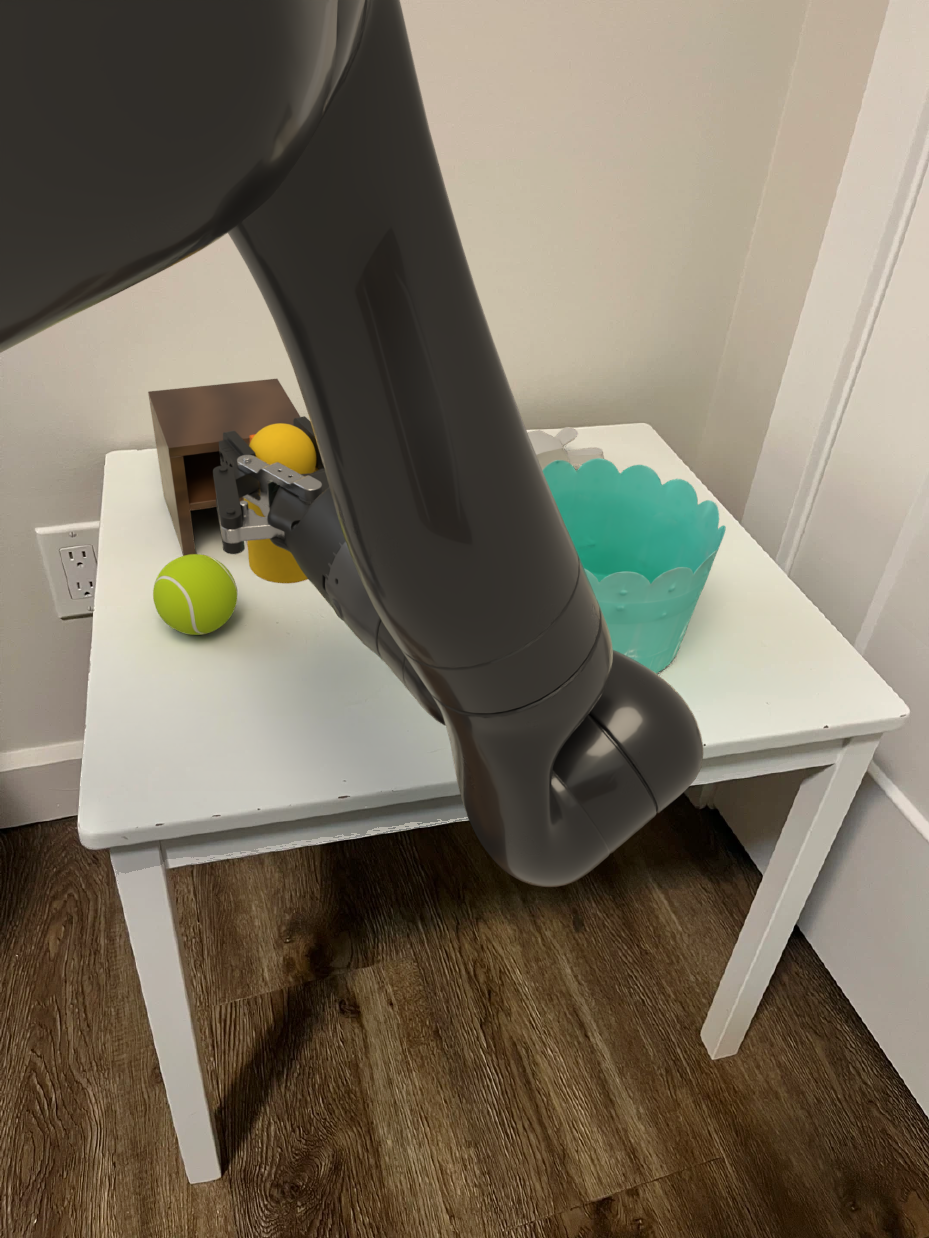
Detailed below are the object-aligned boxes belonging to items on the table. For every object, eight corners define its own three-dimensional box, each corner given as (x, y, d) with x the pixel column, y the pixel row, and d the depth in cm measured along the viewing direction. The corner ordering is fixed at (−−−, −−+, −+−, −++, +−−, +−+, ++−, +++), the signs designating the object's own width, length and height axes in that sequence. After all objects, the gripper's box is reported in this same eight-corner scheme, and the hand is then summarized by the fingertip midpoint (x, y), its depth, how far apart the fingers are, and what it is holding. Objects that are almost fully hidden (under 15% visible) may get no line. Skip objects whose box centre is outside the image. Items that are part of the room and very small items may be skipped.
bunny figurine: (457, 442, 104) (566, 407, 109) (458, 480, 107) (564, 444, 113) (501, 481, 98) (614, 442, 103) (501, 520, 101) (610, 480, 106)
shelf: (183, 557, 90) (168, 447, 82) (163, 495, 98) (147, 391, 90) (312, 535, 94) (309, 430, 87) (282, 479, 102) (277, 378, 95)
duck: (337, 571, 64) (336, 436, 57) (267, 591, 61) (258, 453, 55) (299, 529, 67) (295, 398, 61) (232, 546, 65) (220, 412, 58)
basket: (510, 698, 77) (528, 575, 69) (473, 572, 91) (484, 457, 83) (720, 685, 81) (761, 566, 73) (653, 565, 95) (681, 455, 87)
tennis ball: (203, 592, 85) (195, 529, 81) (256, 623, 82) (250, 560, 78) (142, 627, 81) (130, 563, 76) (196, 662, 78) (186, 597, 74)
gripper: (505, 482, 51) (359, 365, 62) (266, 547, 44) (149, 404, 55) (492, 590, 56) (358, 464, 66) (273, 663, 49) (164, 510, 60)
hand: (264, 437), depth 61 cm, fingers closed on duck, 4 cm apart
